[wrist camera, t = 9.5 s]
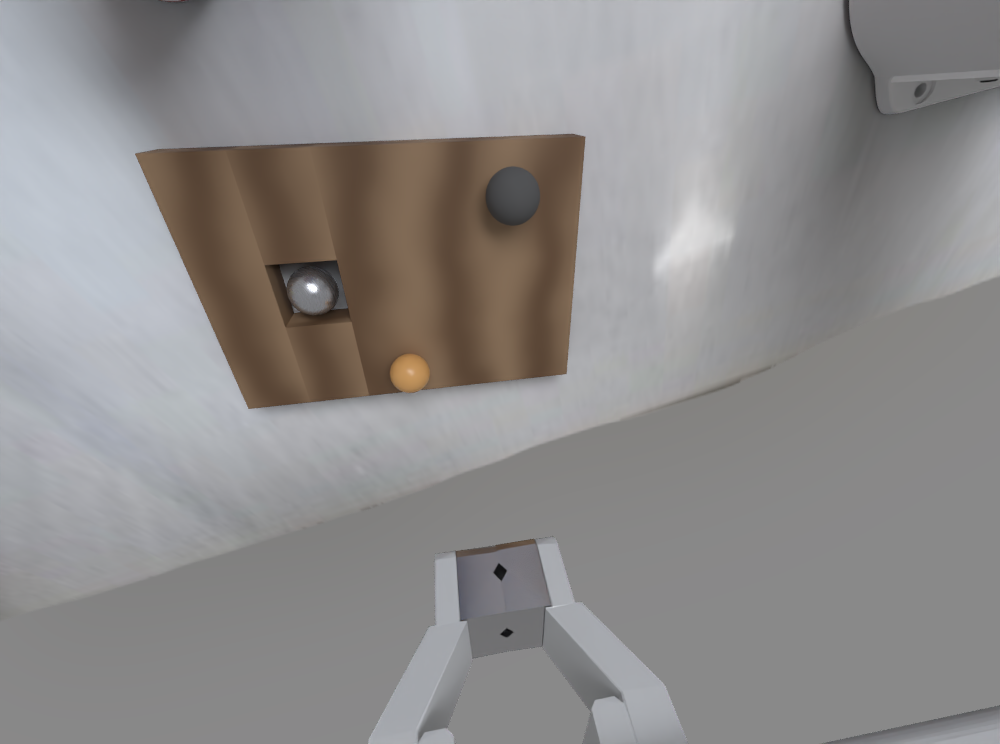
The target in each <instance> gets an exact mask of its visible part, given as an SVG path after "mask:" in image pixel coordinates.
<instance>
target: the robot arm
mask: <svg viewBox="0 0 1000 744" xmlns="http://www.w3.org/2000/svg"><path fill="white" fill-rule="evenodd" d="M849 14H850V23H851V29H852V33H853V37H854V40H855V43H856V45H857V48H858V50H859V52H860V54H861V55H862V57H863V58H864V60H865V61H866V62H867V64H868V65H869V67H870V68H871V70H872V72H873V74H874V77H875V90H876V99H877V105H878V108H879V110H880V112H881V113H883V114H896V113H903V112H907V111H910V110H914V109H918V108H922V107H925V106H929V105H933V104H936V103H940V102H944V101H947V100H951V99H955V98H959V97H962V96H966V95H970V94H973V93H977V92H981V91H985V90H988V89H992V88H996V87H999V86H1000V0H849ZM434 579H435V625H434V626H429V627H428V629H427V631H426V633H425V635H424V637H423V639H422V641H421V642H420V644H419V646H418V648H417V650H416V652H415V654H414V655H413V658H412V659H411V661H410V663H409V665H408V667H407V669H406V671H405V672H404V674H403V676H402V678H401V680H400V682H399V684H398V686H397V688H396V689H395V691H394V693H393V695H392V697H391V699H390V701H389V703H388V705H387V706H386V708H385V710H384V712H383V714H382V716H381V718H380V719H379V722H378V723H377V725H376V727H375V729H374V731H373V733H372V735H371V736H370V738H369V740H368V744H456V743H455V740H454V735H453V734H451V732H450V731H448V730H447V727H448V725H449V722H450V719H451V717H452V714H453V711H454V709H455V706H456V704H457V701H458V699H459V696H460V693H461V690H462V688H463V686H464V683H465V680H466V678H467V675H468V672H469V670H470V667H471V665H472V662H473V660H472V659H473V658H478V657H483V656H488V655H493V654H497V653H503V652H507V650H508V651H515V650H521V649H528V648H535V647H542V646H543V650H544V651H545V652H546V653H547V655H548V656H549V657H550V659H551V660H552V661H553V663H554V664H555V665H556V667H557V668H558V669H559V671H560V672H561V673H562V675H563V676H564V677H565V679H566V680H567V681H568V683H569V684H570V685H571V686H572V688H573V689H574V690H575V692H576V693H577V694H578V696H579V697H580V698H581V700H582V701H583V702H584V704H585V705H586V706H587V708H588V709H589V710H590V712H591V713H590V717H589V720H588V724H587V728H586V732H585V735H584V739H583V743H582V744H688V742H687V739H686V737H685V734H684V732H683V729H682V727H681V725H680V722H679V720H678V717H677V714H676V712H675V709H674V707H673V704H672V702H671V699H670V697H669V695H668V692H667V689H666V687H665V685H664V684H663V683H662V682H661V681H660V680H659V679H658V678H657V677H656V676H655V675H654V674H653V673H652V672H651V671H650V670H649V669H648V668H647V667H646V666H645V665H644V664H643V663H642V662H641V661H640V660H639V659H638V658H637V657H636V656H635V655H634V654H633V653H632V652H631V651H630V650H629V649H628V648H627V647H626V646H625V645H624V644H623V643H622V642H621V641H620V640H619V639H618V638H617V637H616V636H615V635H614V634H613V633H612V632H611V631H610V630H609V629H608V628H607V627H606V626H605V625H604V624H603V623H602V622H601V621H600V620H599V619H598V618H597V617H596V616H595V615H594V614H593V613H592V612H591V611H590V610H589V609H588V608H587V607H586V606H585V605H584V604H583V603H582V602H575V600H574V597H573V593H572V590H571V586H570V583H569V579H568V576H567V573H566V569H565V566H564V562H563V559H562V556H561V552H560V549H559V545H558V542H557V540H556V539H555V537H554V536H552V537H545V538H539V539H530V540H524V541H518V542H512V543H506V544H500V545H495V546H488V547H482V548H474V549H467V550H461V551H451V552H444V553H438V554H435V560H434ZM821 744H1000V705H999V706H994V707H990V708H985V709H980V710H976V711H971V712H966V713H962V714H957V715H953V716H948V717H943V718H938V719H934V720H929V721H925V722H919V723H915V724H911V725H905V726H901V727H896V728H891V729H887V730H882V731H878V732H873V733H868V734H863V735H859V736H854V737H850V738H845V739H840V740H835V741H831V742H826V743H821Z"/></svg>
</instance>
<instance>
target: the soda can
mask: <svg viewBox="0 0 1000 744" xmlns="http://www.w3.org/2000/svg"><path fill="white" fill-rule="evenodd" d="M160 1H165V2H185V1H189V0H160Z"/></svg>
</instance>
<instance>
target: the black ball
mask: <svg viewBox="0 0 1000 744" xmlns="http://www.w3.org/2000/svg"><path fill="white" fill-rule="evenodd" d="M485 198H486V204H487V207H488V210H489V212H490V213H491V215H492V216H493V217H494V218H495V219H496V220H497V221H499V222H500V223H502V224H505V225H510V226H515V225H520V224H523V223H525V222H526V221H528V220H529V219H530V218H531V217H532V216H533V215H534V214H535V212H536V210H537V208H538V206H539V202H540V189H539V186H538V183H537V181H536V179H535V178H534V177H533V175H532V174H531V173H530V172H528V171H527V170H525V169H523V168H520V167H514V166H511V167H506V168H503V169H501V170H499V171H498V172H497V173H495V174H494V175H493V177H492V178H491V179H490V181H489V183H488V185H487V189H486V197H485Z"/></svg>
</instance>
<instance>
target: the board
mask: <svg viewBox="0 0 1000 744" xmlns="http://www.w3.org/2000/svg"><path fill="white" fill-rule="evenodd" d="M584 147H585V137H584V136H580V135H575V134H560V135H533V136H505V137H478V138H451V139H424V140H396V141H369V142H342V143H315V144H288V145H260V146H233V147H206V148H179V149H157V150H152V151H147V152H141V153H136V154H135V155H136V157H137V159H138V162H139V164H140V166H141V168H142V170H143V173H144V175H145V177H146V179H147V182H148V184H149V186H150V188H151V191H152V193H153V195H154V197H155V200H156V202H157V204H158V206H159V209H160V211H161V213H162V215H163V218H164V220H165V222H166V224H167V227H168V229H169V231H170V233H171V236H172V238H173V240H174V242H175V245H176V247H177V249H178V251H179V254H180V256H181V258H182V260H183V263H184V265H185V267H186V269H187V271H188V274H189V276H190V278H191V280H192V283H193V285H194V287H195V289H196V292H197V294H198V296H199V298H200V301H201V303H202V305H203V307H204V310H205V312H206V314H207V316H208V319H209V321H210V323H211V325H212V328H213V330H214V332H215V334H216V337H217V339H218V341H219V343H220V346H221V348H222V350H223V352H224V355H225V357H226V359H227V361H228V364H229V366H230V368H231V370H232V372H233V375H234V377H235V379H236V381H237V384H238V386H239V388H240V390H241V393H242V395H243V397H244V399H245V402H246V404H247V406H248V408H249V409H252V408H261V407H270V406H279V405H289V404H298V403H307V402H316V401H325V400H334V399H343V398H352V397H361V396H370V395H380V394H389V393H398V392H403V391H400V390H399V389H397V388H396V387H395V386H394V385H393V383H392V381H391V378H390V368H391V365H392V364H393V362H394V361H395V360H396V359H397V358H398V357H400V356H402V355H404V354H416V355H418V356H420V357H422V358H423V359H424V360H425V361H426V362H427V364H428V366H429V369H430V377H429V381H428V383H427V384H426V386H425V387H424V388H423V389H421V390H425V389H434V388H443V387H452V386H462V385H471V384H480V383H489V382H498V381H507V380H516V379H525V378H534V377H543V376H553V375H562V374H566V373H567V360H568V348H569V335H570V323H571V310H572V298H573V285H574V273H575V260H576V248H577V235H578V222H579V210H580V197H581V185H582V172H583V160H584ZM511 166H514V167H520V168H523V169H525V170H527V171H528V172H530V173H531V174H532V175H533V177H534V178H535V179H536V181H537V183H538V186H539V189H540V202H539V206H538V208H537V210H536V212H535V214H534V215H533V216H532V217H531V218H530V219H529V220H528V221H526V222H525V223H523V224H520V225H515V226H510V225H505V224H502V223H500V222H499V221H497V220H496V219H495V218H494V217H493V216H492V215H491V213H490V212H489V210H488V207H487V204H486V198H485V197H486V189H487V185H488V183H489V181H490V179H491V178H492V177H493V175H494V174H495V173H497V172H498V171H499V170H501V169H503V168H506V167H511ZM331 260H337V263H338V267H339V272H340V276H341V280H342V284H343V288H344V292H345V297H346V301H347V305H348V309H336V310H330V311H328V312H327V313H324V314H321V315H308V314H305V313H302V312H300V313H294V311H293V308H292V305H291V302H290V300H289V298H288V295H287V289H286V286H285V283H284V280H283V277H282V274H281V271H280V267H279V264H288V263H303V262H317V261H331Z"/></svg>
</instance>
